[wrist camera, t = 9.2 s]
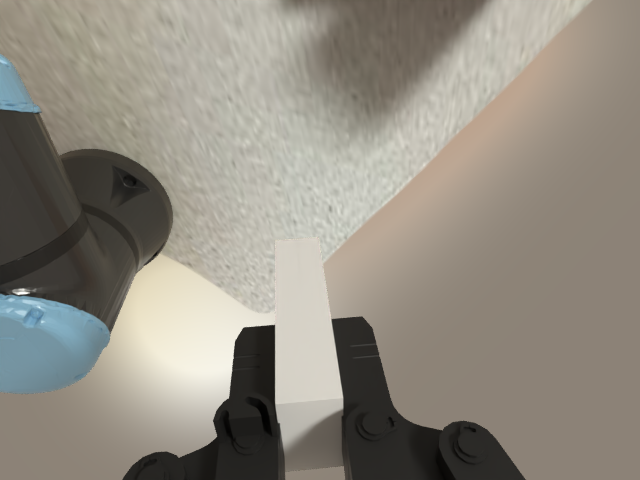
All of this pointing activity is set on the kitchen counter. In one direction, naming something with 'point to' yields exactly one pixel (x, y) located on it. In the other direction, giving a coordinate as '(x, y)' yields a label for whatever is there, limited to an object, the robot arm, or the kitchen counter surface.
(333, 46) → the kitchen counter surface
